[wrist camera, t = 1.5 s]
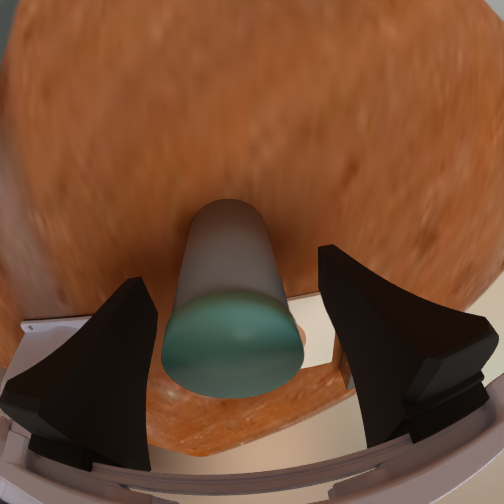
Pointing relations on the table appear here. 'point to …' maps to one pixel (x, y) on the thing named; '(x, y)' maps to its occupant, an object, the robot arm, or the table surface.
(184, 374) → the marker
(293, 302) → the paper
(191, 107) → the table surface
